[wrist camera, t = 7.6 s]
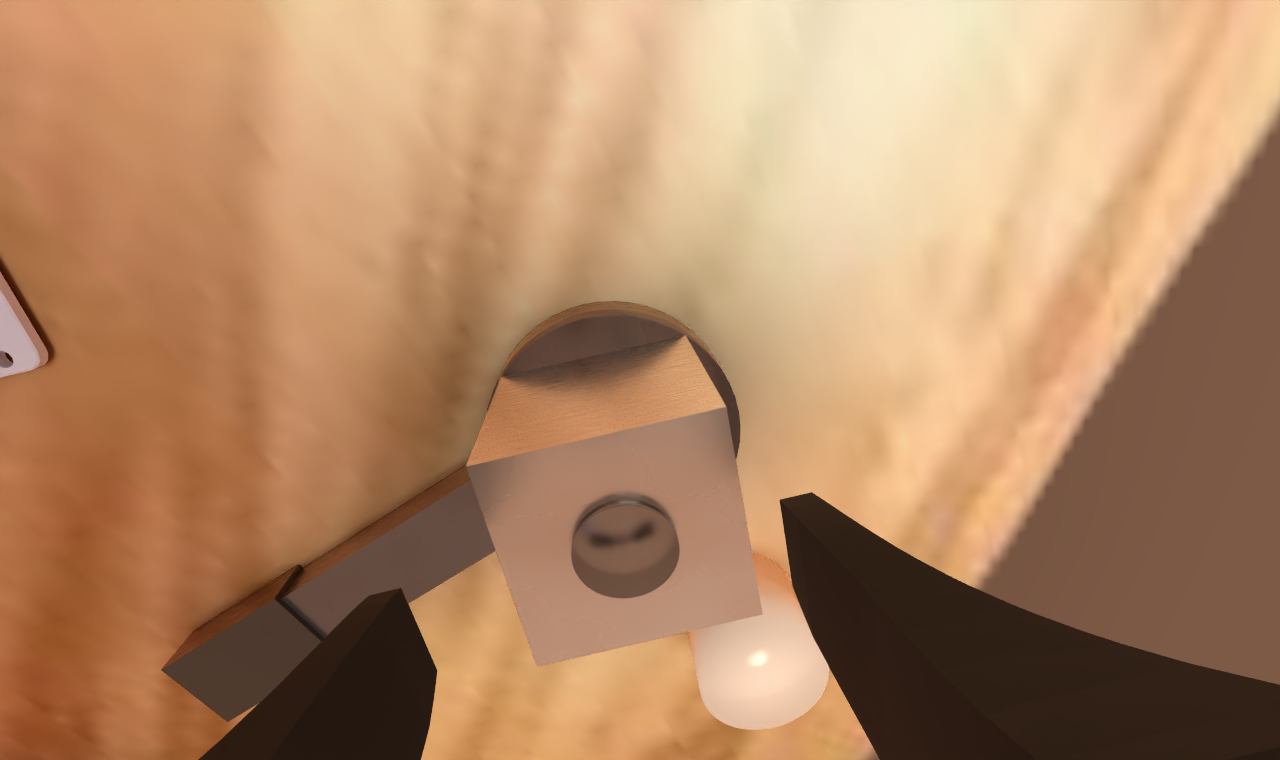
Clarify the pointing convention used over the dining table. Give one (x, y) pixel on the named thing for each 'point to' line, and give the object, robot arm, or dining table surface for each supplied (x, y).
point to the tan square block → (615, 501)
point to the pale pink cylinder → (761, 659)
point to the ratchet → (398, 535)
